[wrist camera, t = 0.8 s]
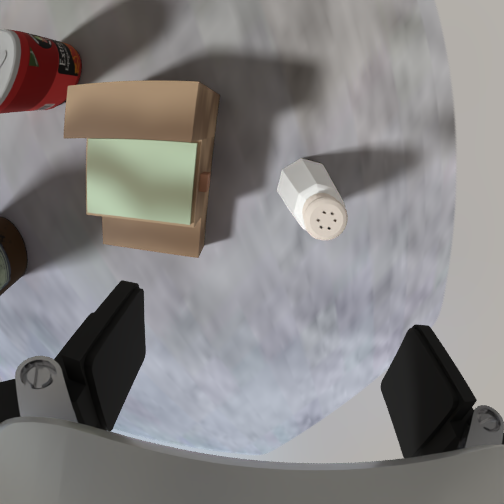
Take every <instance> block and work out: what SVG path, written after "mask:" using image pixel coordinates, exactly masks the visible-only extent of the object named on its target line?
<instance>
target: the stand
mask: <svg viewBox="0 0 504 504" xmlns="http://www.w3.org/2000/svg"><path fill="white" fill-rule="evenodd" d="M219 98H220V95H219V94H217V93H216V92H214V91H213V90H211V89H209V88H208V87H206V86H205V85H203V84H202V83H200V82H195V81H119V82H103V83H90V84H80V85H71V86H68V89H67V99H66V109H65V123H64V138H87V146H86V215H94V216H102V230H103V244H107V245H114V246H120V247H127V248H134V249H141V250H147V251H154V252H161V253H168V254H175V255H182V256H189V257H196V258H198V257H199V255H200V253H201V251H202V249H203V247H204V239H205V227H206V215H207V204H208V194H209V186H210V176H211V164H212V155H213V146H214V138H215V130H216V121H217V114H218V106H219Z"/></svg>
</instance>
